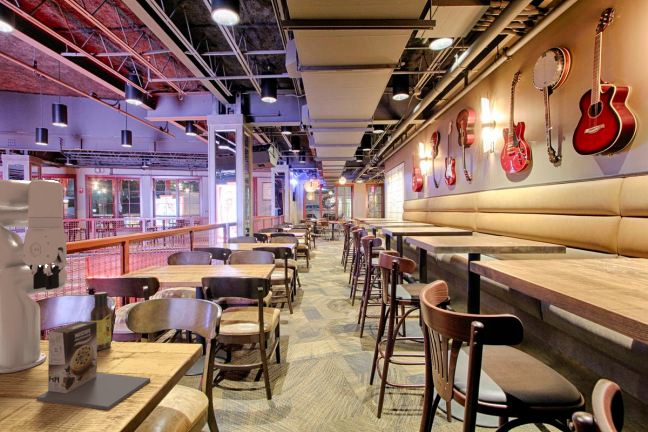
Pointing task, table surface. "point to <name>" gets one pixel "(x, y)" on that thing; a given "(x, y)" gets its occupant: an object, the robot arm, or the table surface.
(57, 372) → the coffee box
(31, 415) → the table surface
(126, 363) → the table surface
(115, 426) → the table surface
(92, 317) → the sauce bottle
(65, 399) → the rubber mat
